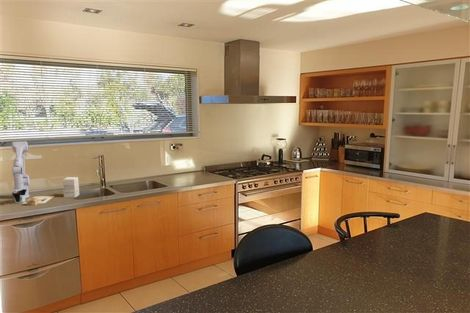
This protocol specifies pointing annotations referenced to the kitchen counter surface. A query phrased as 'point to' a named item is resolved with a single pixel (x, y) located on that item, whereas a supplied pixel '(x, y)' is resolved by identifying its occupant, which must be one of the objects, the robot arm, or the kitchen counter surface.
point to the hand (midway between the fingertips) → (20, 200)
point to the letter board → (43, 199)
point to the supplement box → (71, 187)
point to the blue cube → (21, 199)
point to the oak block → (32, 201)
